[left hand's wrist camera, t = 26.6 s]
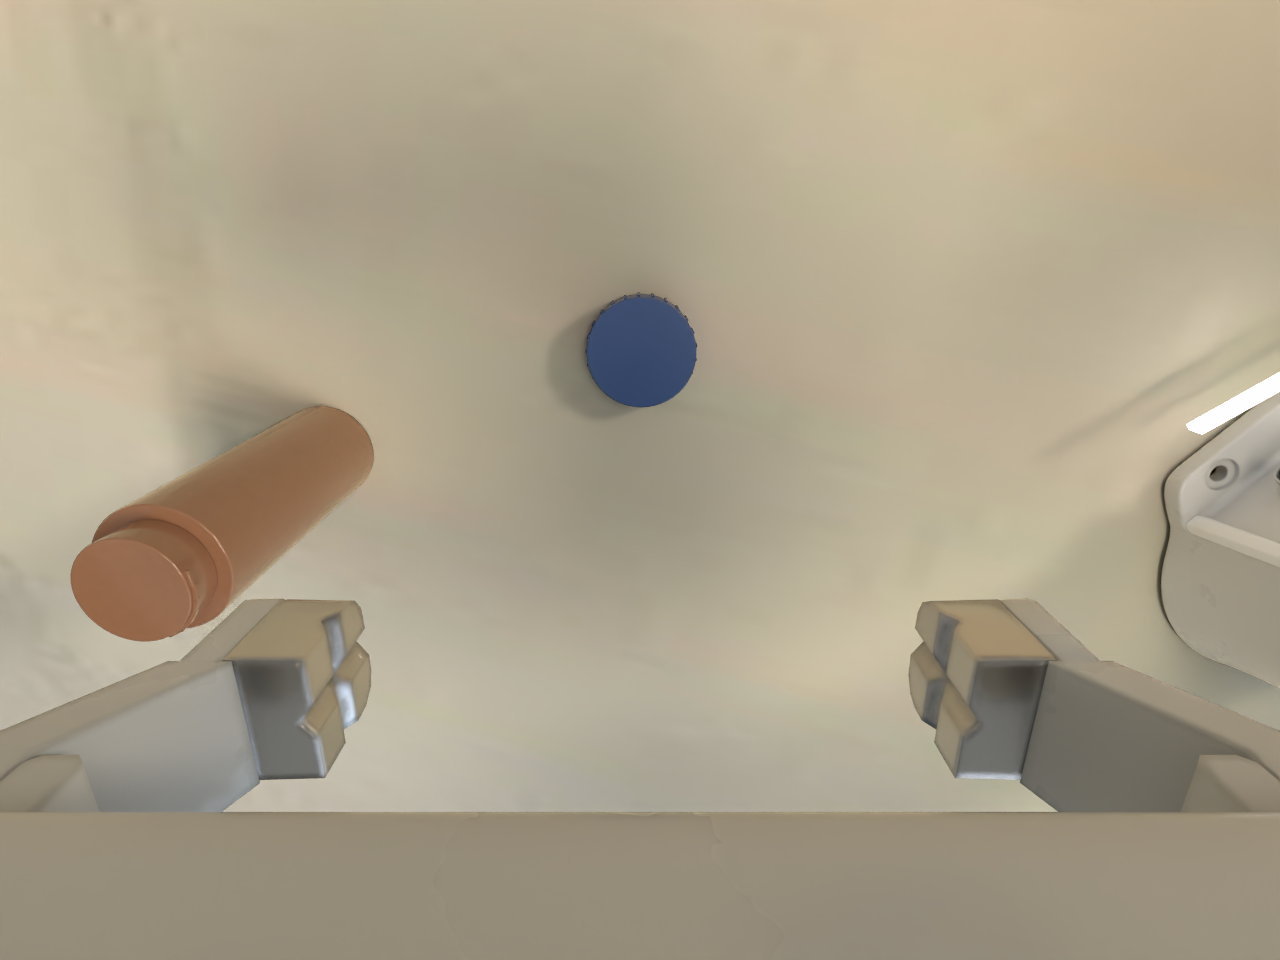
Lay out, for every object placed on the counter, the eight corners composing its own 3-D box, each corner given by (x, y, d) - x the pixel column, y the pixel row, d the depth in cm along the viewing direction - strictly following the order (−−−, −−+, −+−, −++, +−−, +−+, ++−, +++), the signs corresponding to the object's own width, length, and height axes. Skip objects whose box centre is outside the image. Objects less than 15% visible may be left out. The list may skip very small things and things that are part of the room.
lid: (673, 275, 34) (675, 278, 32) (709, 378, 35) (713, 386, 34) (571, 315, 34) (567, 320, 32) (611, 414, 36) (610, 424, 34)
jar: (301, 500, 38) (96, 666, 23) (267, 416, 36) (25, 539, 22) (386, 483, 37) (229, 641, 23) (356, 397, 36) (167, 510, 21)
